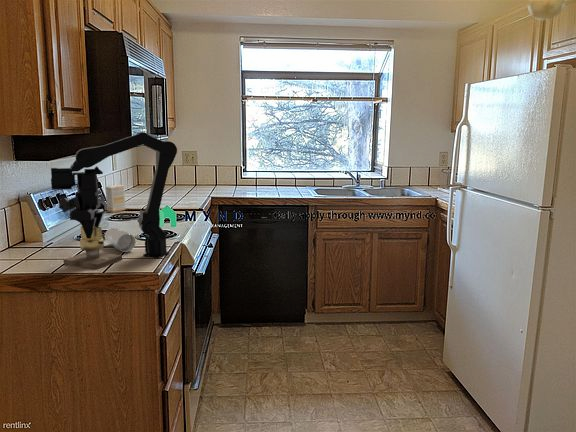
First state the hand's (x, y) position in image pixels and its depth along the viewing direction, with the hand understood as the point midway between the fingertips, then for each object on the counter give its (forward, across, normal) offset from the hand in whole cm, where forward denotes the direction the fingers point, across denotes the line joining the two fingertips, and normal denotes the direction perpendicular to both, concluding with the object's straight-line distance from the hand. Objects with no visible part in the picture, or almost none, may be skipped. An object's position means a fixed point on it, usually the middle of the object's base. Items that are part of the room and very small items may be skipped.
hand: (91, 236), depth 149 cm
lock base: (+8, 0, 0) cm, 8 cm away
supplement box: (+9, -94, -16) cm, 96 cm away
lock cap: (+4, 0, +1) cm, 4 cm away
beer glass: (+6, -24, 0) cm, 25 cm away
